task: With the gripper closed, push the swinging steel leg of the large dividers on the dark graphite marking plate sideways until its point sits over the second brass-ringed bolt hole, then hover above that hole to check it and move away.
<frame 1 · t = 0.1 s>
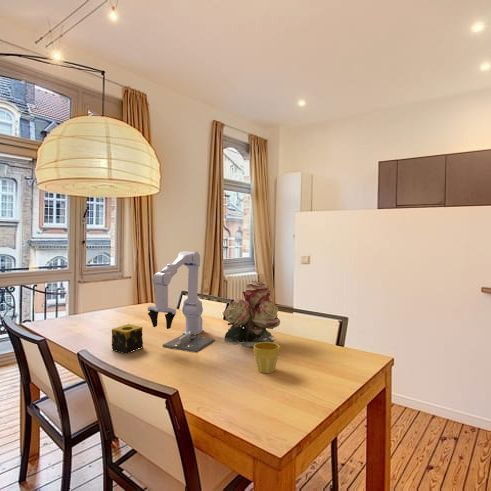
hand: (161, 327, 164), 10 cm above the table, tool pointing down, fingers open, 7 cm apart
plant pot: (266, 370, 140), on the table
marking plate: (189, 343, 172), on the table
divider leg: (186, 337, 172), point 3 cm above the table, hinge at 6.0°
rose bouquet: (254, 340, 178), on the table
candle: (127, 349, 164), on the table
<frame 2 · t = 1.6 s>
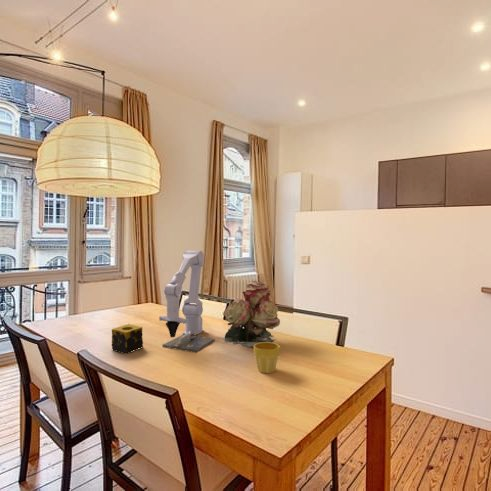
hand: (172, 336, 171), 4 cm above the table, tool pointing down, fingers closed
nothing on the table moved.
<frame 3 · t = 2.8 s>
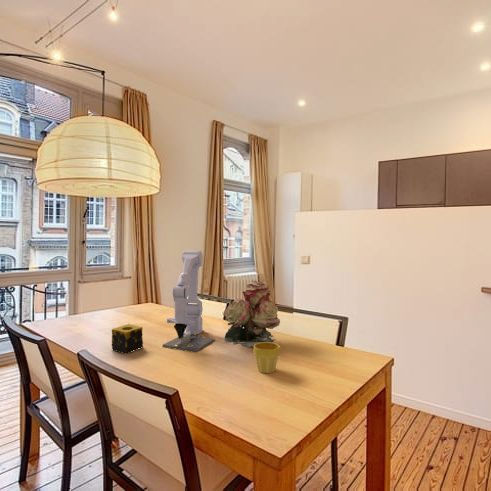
hand: (180, 339, 169), 3 cm above the table, tool pointing down, fingers closed, pressing on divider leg
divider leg: (186, 337, 172), point 3 cm above the table, hinge at 6.2°, touching gripper
everything else where it was.
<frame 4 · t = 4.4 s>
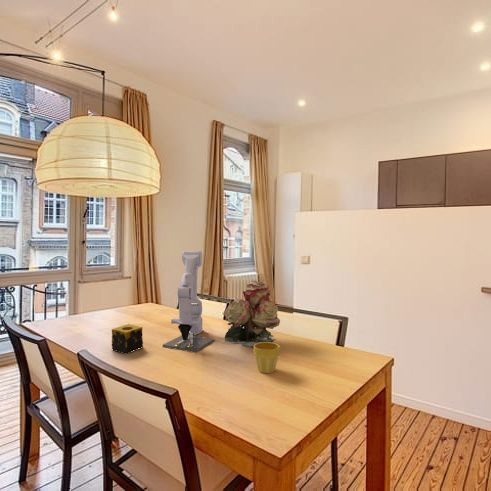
hand: (185, 339, 168), 3 cm above the table, tool pointing down, fingers closed
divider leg: (191, 337, 172), point 3 cm above the table, hinge at 32.6°
everything else where it was.
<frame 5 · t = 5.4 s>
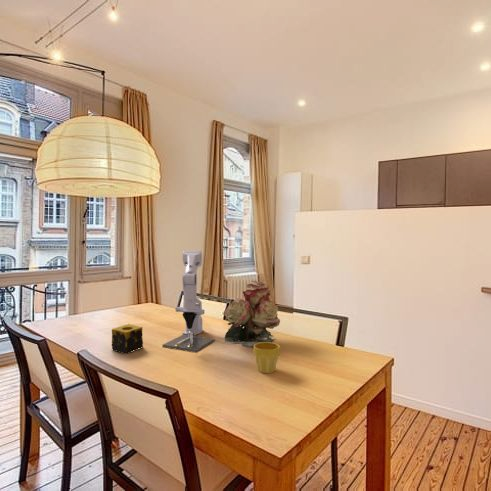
hand: (189, 328, 165), 9 cm above the table, tool pointing down, fingers closed
nothing on the table moved.
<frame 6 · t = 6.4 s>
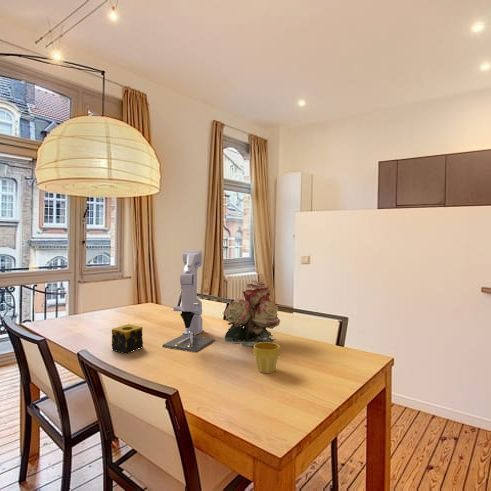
hand: (187, 327, 167), 9 cm above the table, tool pointing down, fingers closed
nothing on the table moved.
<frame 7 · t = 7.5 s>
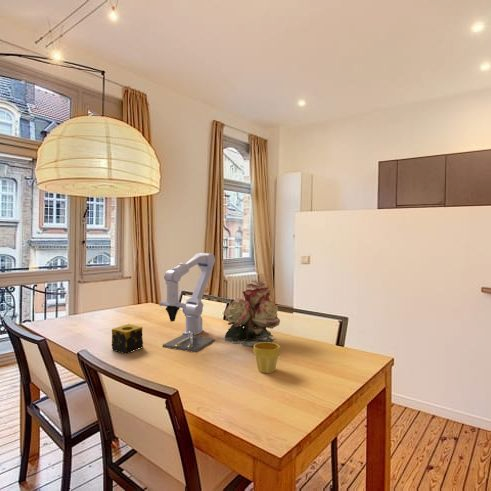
hand: (172, 321, 177), 9 cm above the table, tool pointing down, fingers closed
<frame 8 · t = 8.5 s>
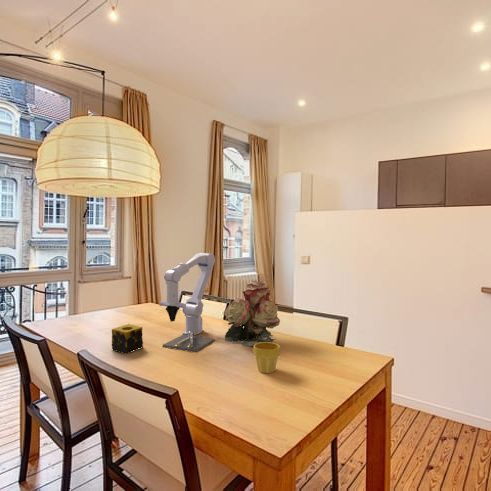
hand: (172, 321, 177), 9 cm above the table, tool pointing down, fingers closed
at the end: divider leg at +33° (first picture: +6°); candle moved 0.3 cm from its start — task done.
